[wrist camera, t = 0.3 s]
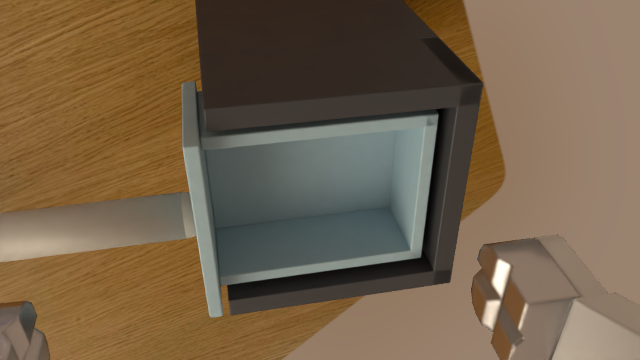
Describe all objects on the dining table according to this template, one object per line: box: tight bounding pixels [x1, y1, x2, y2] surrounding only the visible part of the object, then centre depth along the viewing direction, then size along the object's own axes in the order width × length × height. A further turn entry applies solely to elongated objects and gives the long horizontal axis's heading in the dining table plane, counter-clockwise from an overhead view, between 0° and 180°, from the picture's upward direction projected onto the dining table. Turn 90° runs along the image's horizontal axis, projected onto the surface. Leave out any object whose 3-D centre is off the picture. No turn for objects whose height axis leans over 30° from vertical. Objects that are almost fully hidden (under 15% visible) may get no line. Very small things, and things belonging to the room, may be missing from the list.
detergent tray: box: [0, 82, 439, 317], centre depth 26 cm, size 9×20×6 cm, turn 90°
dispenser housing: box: [195, 0, 483, 315], centre depth 36 cm, size 11×11×26 cm
